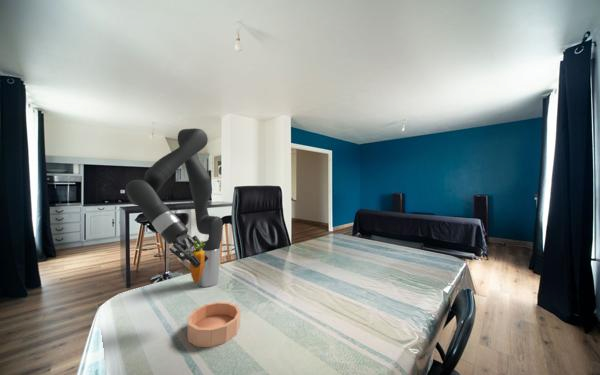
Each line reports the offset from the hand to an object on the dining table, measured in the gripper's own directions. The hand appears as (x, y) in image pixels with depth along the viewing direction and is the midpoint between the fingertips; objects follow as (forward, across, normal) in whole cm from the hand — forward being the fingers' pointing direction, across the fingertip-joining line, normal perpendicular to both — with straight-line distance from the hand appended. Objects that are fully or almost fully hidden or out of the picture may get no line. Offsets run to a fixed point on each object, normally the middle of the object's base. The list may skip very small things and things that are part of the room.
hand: (202, 262), depth 75 cm
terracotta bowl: (+19, -3, +10) cm, 22 cm away
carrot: (+4, 0, +6) cm, 8 cm away
